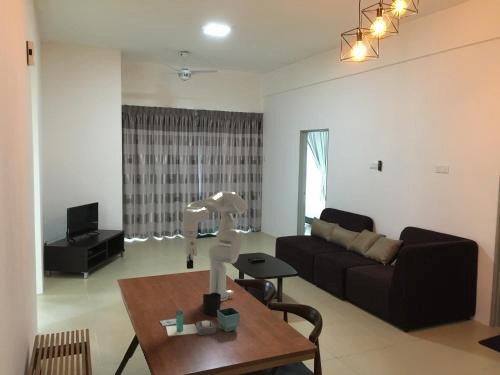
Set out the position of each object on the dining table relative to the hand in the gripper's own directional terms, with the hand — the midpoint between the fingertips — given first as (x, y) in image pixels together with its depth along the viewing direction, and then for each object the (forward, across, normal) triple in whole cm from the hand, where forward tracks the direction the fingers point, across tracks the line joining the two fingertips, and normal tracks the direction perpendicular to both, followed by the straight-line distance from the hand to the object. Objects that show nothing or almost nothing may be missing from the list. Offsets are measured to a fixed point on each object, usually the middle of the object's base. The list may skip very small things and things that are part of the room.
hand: (190, 268), depth 211 cm
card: (+25, -6, +12) cm, 28 cm away
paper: (+25, -16, +7) cm, 31 cm away
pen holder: (+26, 0, -12) cm, 29 cm away
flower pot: (+26, -21, -15) cm, 36 cm away
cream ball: (+25, -20, -4) cm, 32 cm away
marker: (+25, -17, +8) cm, 31 cm away
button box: (+25, -20, -4) cm, 32 cm away
